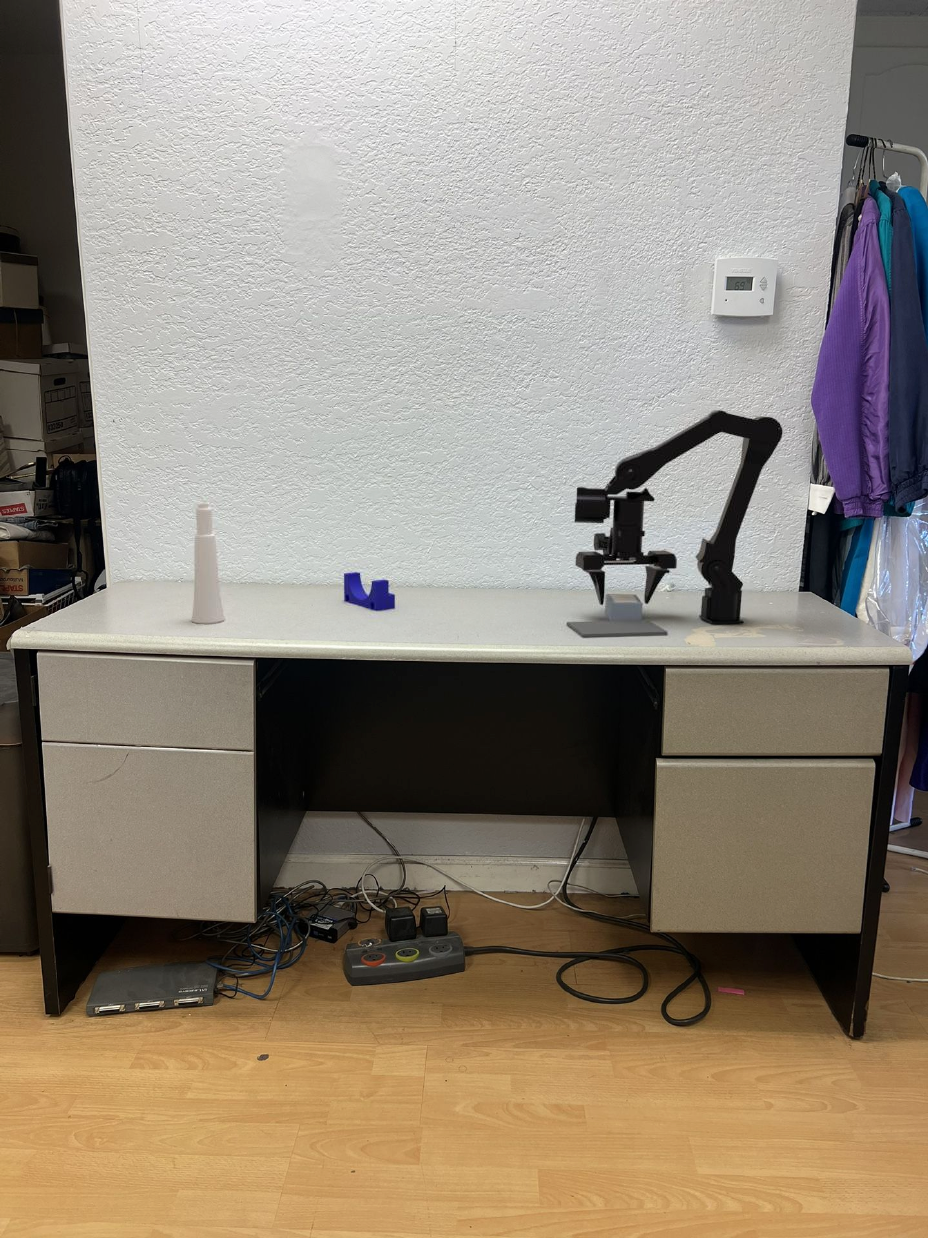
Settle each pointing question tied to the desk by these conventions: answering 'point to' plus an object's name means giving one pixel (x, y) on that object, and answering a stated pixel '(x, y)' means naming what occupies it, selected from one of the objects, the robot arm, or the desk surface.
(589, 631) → the mat
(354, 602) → the cable clip
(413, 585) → the desk surface
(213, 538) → the cosmetic bottle
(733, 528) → the robot arm
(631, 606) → the card deck
